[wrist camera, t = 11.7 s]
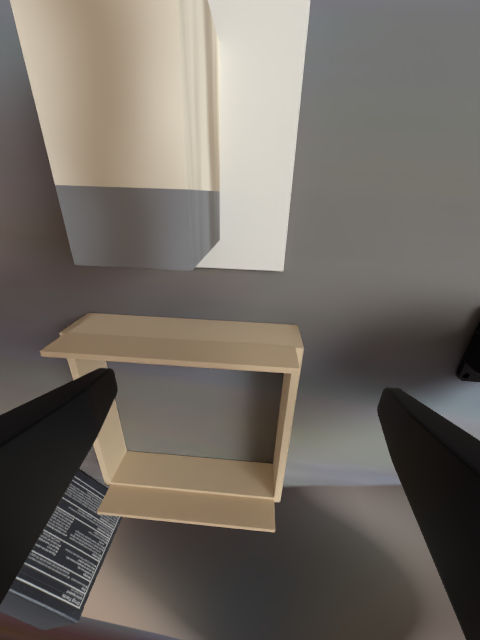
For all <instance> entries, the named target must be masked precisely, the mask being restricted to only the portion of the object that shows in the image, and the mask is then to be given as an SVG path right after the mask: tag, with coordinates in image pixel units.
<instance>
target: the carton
mask: <svg viewBox="0 0 480 640" xmlns="http://www.w3.org/2000/svg"><path fill="white" fill-rule="evenodd" d="M59 335H60V337H59V338H58V339H56V340H55V341H53V342H52V343H51V344H49V345H48V346H46V347H45V348H43V349H42V350H41V351H40V353H41V356H42V357H56V358H67V361H68V364H69V367H70V371H71V374H72V377H73V380H75V379H77V378H79V377H81V376H84V375H86V374H88V373H90V372H92V371H94V370H96V369H98V368H108V367H107V362H106V361H115V362H129V363H144V364H159V365H173V366H188V367H202V368H217V369H232V370H246V371H261V372H276V373H284V377H283V385H282V394H281V402H280V410H279V418H278V426H277V434H276V443H275V451H274V459H273V464H271V463H259V462H248V461H236V460H225V459H214V458H202V457H191V456H179V455H168V454H157V453H145V452H134V451H127V449H126V445H125V440H124V436H123V432H122V427H121V423H120V419H119V414H118V410H117V406H116V401H115V399H114V401H113V404H112V406H111V408H110V410H109V412H108V415H107V417H106V419H105V421H104V424H103V426H102V428H101V430H100V432H99V434H98V436H97V438H96V440H95V442H94V444H93V446H94V449H95V452H96V455H97V459H98V462H99V465H100V468H101V472H102V475H103V478H104V482H105V485H106V486H110V487H109V489H108V491H107V493H106V495H105V497H104V499H103V500H102V502H101V504H100V506H99V508H98V510H97V514H101V515H110V516H120V517H130V518H140V519H149V520H159V521H169V522H180V523H188V524H198V525H209V526H218V527H228V528H238V529H248V530H258V531H267V532H275V512H274V502H280V499H281V492H282V486H283V480H284V473H285V467H286V461H287V454H288V448H289V441H290V435H291V428H292V422H293V415H294V409H295V403H296V396H297V390H298V383H299V377H300V370H301V364H302V357H303V351H304V347H303V343H302V339H301V336H300V332H299V328H298V325H289V324H272V323H255V322H237V321H220V320H203V319H186V318H168V317H151V316H134V315H117V314H99V313H87V314H86V315H84V316H83V317H81V318H80V319H78V320H77V321H76V322H74V323H73V324H71V325H70V326H68V327H67V328H65V329H64V330H62V331H61V332H59Z"/></svg>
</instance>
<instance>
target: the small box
mask: <svg viewBox="0 0 480 640" xmlns="http://www.w3.org/2000/svg"><path fill="white" fill-rule="evenodd" d="M107 491H108V489H107V488H106V487H104V486H103V485H101V484H100V483H98V482H97V481H95V480H94V479H92V478H91V477H89V476H88V475H86V474H85V473H83V472H82V471H80V470H78V471H77V473H76V475H75V477H74V478H73V480H72V482H71V483H70V485H69V487H68V489H67V490H66V492H65V494H64V496H63V497H62V499H61V501H60V503H59V504H58V506H57V508H56V510H55V511H54V513H53V515H52V516H51V518H50V520H49V522H48V523H47V525H46V527H45V529H44V530H43V532H42V534H41V536H40V537H39V539H38V541H37V543H36V544H35V546H34V548H33V549H32V551H31V553H30V555H29V556H28V558H27V560H26V562H25V563H24V565H23V567H22V569H21V570H20V572H19V574H18V576H17V577H16V579H15V581H14V582H13V584H12V586H11V588H10V589H9V591H8V593H7V595H6V596H5V598H4V600H3V602H2V603H1V605H0V612H2V613H5V614H7V615H9V616H12V617H14V618H16V619H18V620H21V621H23V622H25V623H28V624H30V625H32V626H35V627H37V628H39V629H42V630H48V629H52V628H57V627H61V626H65V625H71V624H76V623H78V621H79V619H80V616H81V614H82V611H83V609H84V605H85V603H86V601H87V599H88V596H89V593H90V591H91V589H92V586H93V584H94V582H95V580H96V577H97V575H98V573H99V570H100V568H101V566H102V564H103V561H104V559H105V556H106V554H107V552H108V550H109V547H110V545H111V543H112V540H113V538H114V535H115V533H116V531H117V529H118V527H119V524H120V522H121V519H122V517H120V516H110V515H101V514H97V510H98V508H99V506H100V504H101V502H102V500H103V499H104V497H105V495H106V493H107Z"/></svg>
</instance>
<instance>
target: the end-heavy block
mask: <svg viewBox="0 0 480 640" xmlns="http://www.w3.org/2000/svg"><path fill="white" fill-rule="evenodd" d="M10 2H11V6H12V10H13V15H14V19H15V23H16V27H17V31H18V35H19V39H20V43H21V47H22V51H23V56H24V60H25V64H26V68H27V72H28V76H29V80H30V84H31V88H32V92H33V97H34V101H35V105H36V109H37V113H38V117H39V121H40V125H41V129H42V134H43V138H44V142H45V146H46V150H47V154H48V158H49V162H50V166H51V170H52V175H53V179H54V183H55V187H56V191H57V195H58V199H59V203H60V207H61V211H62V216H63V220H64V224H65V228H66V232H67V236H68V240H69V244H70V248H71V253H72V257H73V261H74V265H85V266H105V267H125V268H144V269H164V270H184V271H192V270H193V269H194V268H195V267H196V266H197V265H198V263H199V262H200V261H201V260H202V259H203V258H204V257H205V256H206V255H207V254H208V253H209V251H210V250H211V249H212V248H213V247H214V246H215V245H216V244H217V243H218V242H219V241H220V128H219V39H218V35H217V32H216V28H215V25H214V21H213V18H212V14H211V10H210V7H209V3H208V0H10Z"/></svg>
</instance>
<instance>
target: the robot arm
mask: <svg viewBox="0 0 480 640" xmlns="http://www.w3.org/2000/svg"><path fill="white" fill-rule="evenodd" d="M465 373H466V374H465ZM464 374H465V375H464ZM456 376H457V377H458V378H459V379H460V380H462V381H473V382H480V323H479V325H478V327H477V329H476V331H475V333H474V336H473V338H472V340H471V342H470V344H469V346H468V348H467V351H466V353H465V355H464V357H463V359H462V361H461V363H460V365H459V368H458V370H457V372H456ZM116 394H117V383H116V379H115V374H114V371H113V370H112V369H111V368H98V369H96V370H94V371H92V372H90V373H88V374H86V375H84V376H81V377H79V378H77V379H75V380H73V381H71V382H69V383H67V384H65V385H63V386H61V387H58V388H56V389H54V390H52V391H50V392H48V393H46V394H44V395H42V396H40V397H38V398H35V399H33V400H31V401H29V402H27V403H25V404H23V405H21V406H19V407H17V408H15V409H12V410H10V411H8V412H6V413H4V414H2V415H0V605H1V603H2V602H3V600H4V598H5V596H6V595H7V593H8V591H9V589H10V588H11V586H12V584H13V582H14V581H15V579H16V577H17V576H18V574H19V572H20V570H21V569H22V567H23V565H24V563H25V562H26V560H27V558H28V556H29V555H30V553H31V551H32V549H33V548H34V546H35V544H36V543H37V541H38V539H39V537H40V536H41V534H42V532H43V530H44V529H45V527H46V525H47V523H48V522H49V520H50V518H51V516H52V515H53V513H54V511H55V510H56V508H57V506H58V504H59V503H60V501H61V499H62V497H63V496H64V494H65V492H66V490H67V489H68V487H69V485H70V483H71V482H72V480H73V478H74V477H75V475H76V473H77V471H78V470H79V468H80V466H81V464H82V463H83V461H84V459H85V457H86V456H87V454H88V452H89V450H90V449H91V447H92V445H93V444H94V442H95V440H96V438H97V436H98V434H99V432H100V430H101V428H102V426H103V424H104V421H105V419H106V417H107V415H108V412H109V410H110V408H111V406H112V404H113V401H114V399H115V397H116ZM377 411H378V416H379V420H380V423H381V426H382V430H383V433H384V436H385V440H386V443H387V446H388V450H389V453H390V456H391V459H392V462H393V464H394V467H395V470H396V472H397V474H398V477H399V479H400V482H401V484H402V486H403V489H404V491H405V494H406V496H407V498H408V501H409V503H410V506H411V508H412V510H413V513H414V515H415V518H416V520H417V522H418V525H419V527H420V530H421V532H422V535H423V536H424V539H425V542H426V544H427V547H428V549H429V551H430V554H431V556H432V559H433V561H434V563H435V566H436V568H437V571H438V573H439V576H440V578H441V580H442V583H443V585H444V588H445V590H446V592H447V595H448V597H449V599H450V602H451V604H452V607H453V609H454V612H455V614H456V616H457V619H458V621H459V624H460V626H461V628H462V631H463V633H464V636H465V638H466V640H480V441H479V440H478V439H476V438H475V437H473V436H472V435H470V434H468V433H467V432H465V431H464V430H462V429H461V428H459V427H458V426H456V425H455V424H453V423H452V422H450V421H449V420H447V419H445V418H444V417H442V416H441V415H439V414H438V413H436V412H435V411H433V410H432V409H430V408H429V407H427V406H425V405H424V404H422V403H421V402H419V401H418V400H416V399H415V398H413V397H412V396H410V395H409V394H407V393H405V392H404V391H402V390H401V389H399V388H388V387H387V388H385V389H384V390H383V392H382V395H381V398H380V401H379V404H378V409H377Z"/></svg>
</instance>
